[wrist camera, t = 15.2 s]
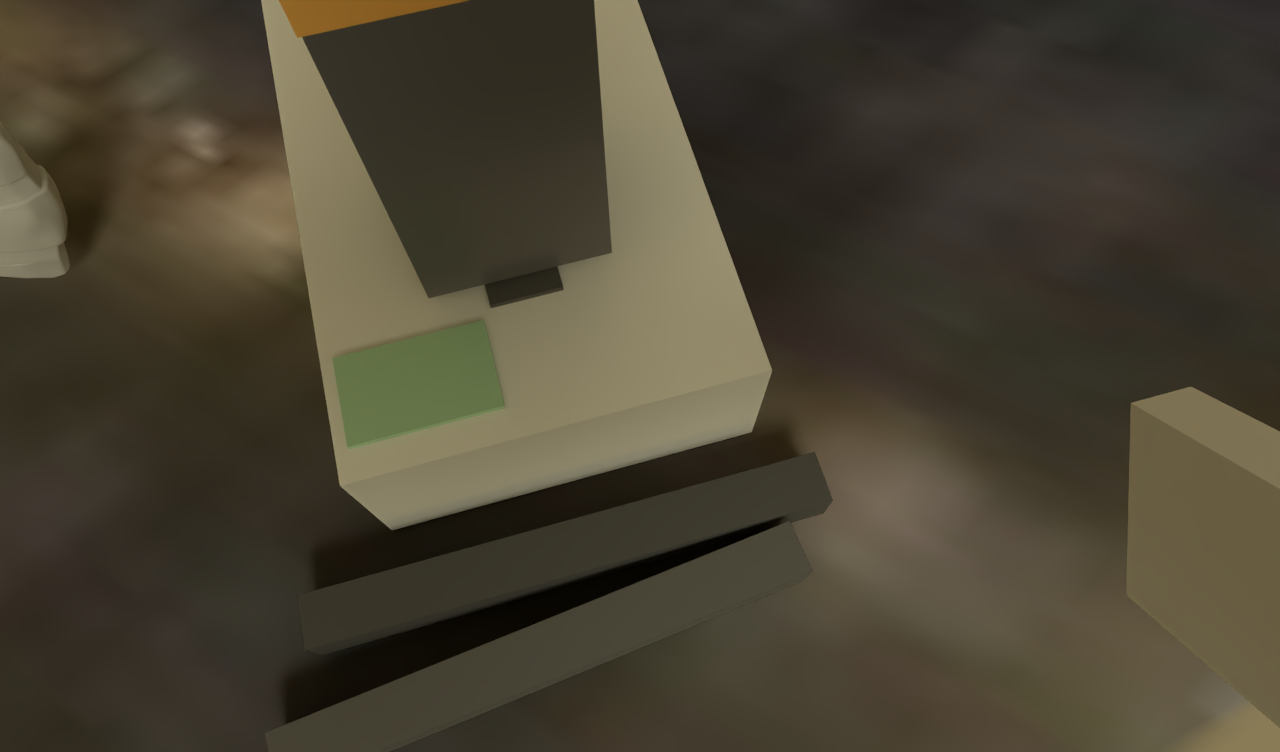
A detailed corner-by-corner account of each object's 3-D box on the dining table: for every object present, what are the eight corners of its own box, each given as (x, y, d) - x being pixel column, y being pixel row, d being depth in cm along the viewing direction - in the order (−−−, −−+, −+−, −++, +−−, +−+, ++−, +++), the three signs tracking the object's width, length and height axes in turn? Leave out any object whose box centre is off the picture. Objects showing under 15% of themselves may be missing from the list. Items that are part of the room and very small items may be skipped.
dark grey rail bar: (806, 466, 22) (814, 452, 21) (823, 513, 22) (833, 500, 21) (315, 603, 21) (296, 595, 20) (323, 655, 21) (304, 650, 20)
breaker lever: (568, 104, 21) (517, -314, 13) (614, 253, 20) (590, -111, 11) (393, 145, 21) (223, -259, 12) (426, 300, 19) (259, -40, 11)
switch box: (573, -83, 29) (562, -209, 25) (751, 432, 23) (773, 367, 19) (291, -24, 28) (236, -145, 24) (391, 530, 22) (337, 483, 18)
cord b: (782, 532, 22) (789, 520, 21) (804, 580, 21) (813, 570, 20) (285, 733, 20) (264, 733, 19) (298, 789, 20) (277, 792, 19)
